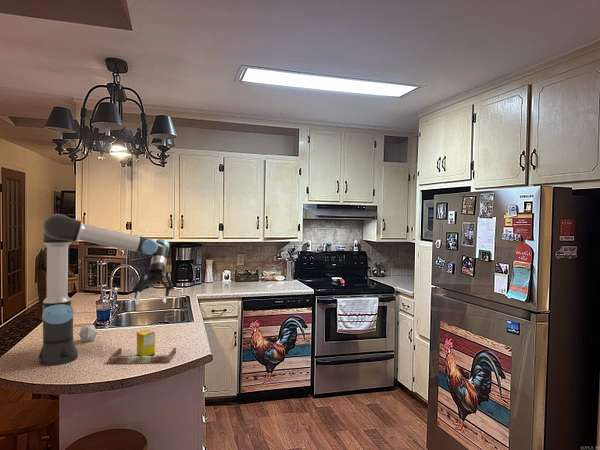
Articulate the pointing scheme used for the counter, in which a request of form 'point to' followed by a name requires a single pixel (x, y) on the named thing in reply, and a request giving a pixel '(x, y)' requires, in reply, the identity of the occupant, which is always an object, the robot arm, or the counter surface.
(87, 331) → the die
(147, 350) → the supplement box
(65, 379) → the counter surface
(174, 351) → the frame
